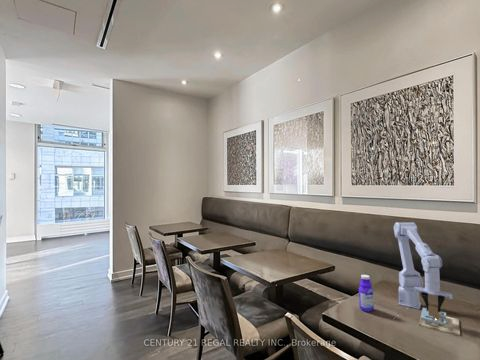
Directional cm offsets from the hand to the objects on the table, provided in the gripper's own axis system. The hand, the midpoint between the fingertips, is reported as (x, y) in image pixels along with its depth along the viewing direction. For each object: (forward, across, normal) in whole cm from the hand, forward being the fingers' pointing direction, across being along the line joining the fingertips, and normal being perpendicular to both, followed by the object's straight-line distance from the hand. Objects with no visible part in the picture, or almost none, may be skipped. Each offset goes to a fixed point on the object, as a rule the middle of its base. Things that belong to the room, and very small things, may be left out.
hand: (433, 310), depth 125 cm
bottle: (+6, -28, -5) cm, 29 cm away
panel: (+3, 0, 0) cm, 3 cm away
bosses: (+5, +2, 0) cm, 5 cm away
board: (+5, +2, 0) cm, 6 cm away
